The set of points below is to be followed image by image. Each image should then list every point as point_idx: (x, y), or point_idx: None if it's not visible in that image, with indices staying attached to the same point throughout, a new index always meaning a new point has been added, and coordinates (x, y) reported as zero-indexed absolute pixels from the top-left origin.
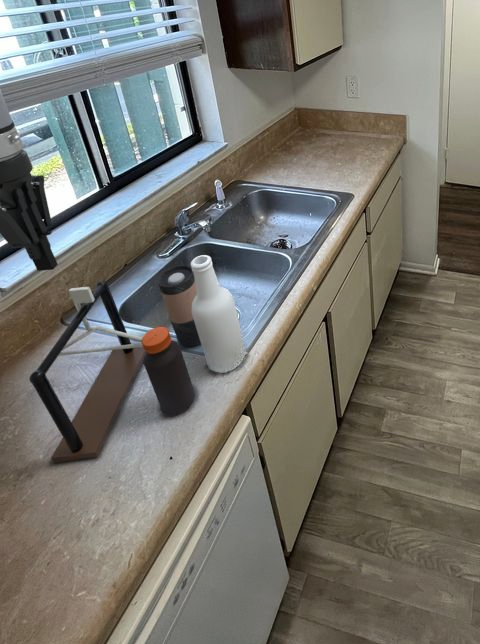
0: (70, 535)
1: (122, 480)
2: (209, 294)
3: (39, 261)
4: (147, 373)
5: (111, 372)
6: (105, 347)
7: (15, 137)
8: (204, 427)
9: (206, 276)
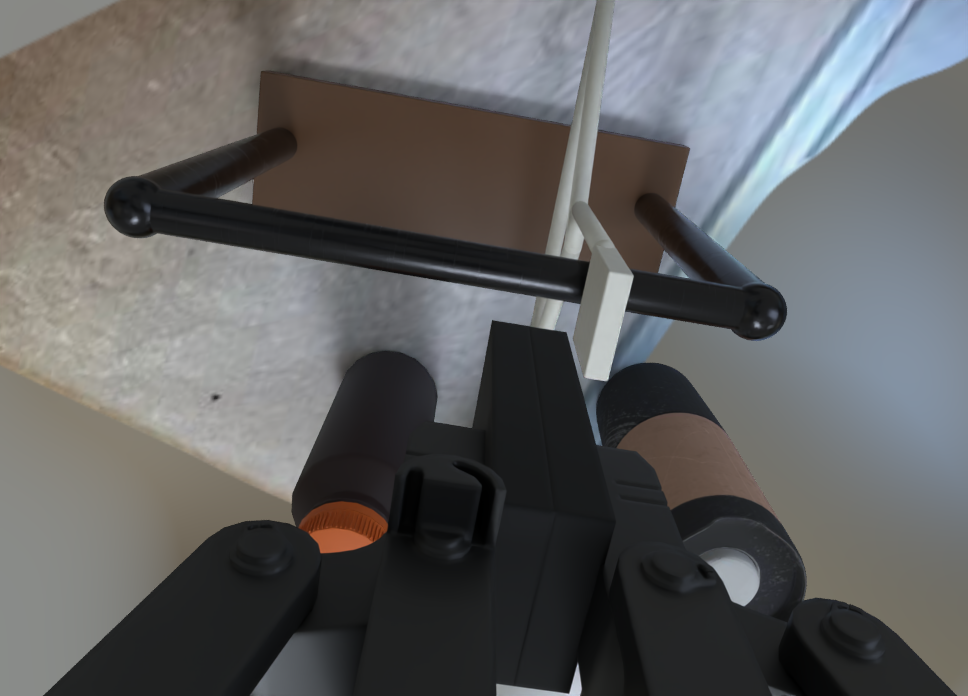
0: (55, 192)
1: (176, 286)
2: None
3: (482, 415)
4: (335, 432)
5: (560, 172)
6: (562, 219)
7: None
8: (286, 467)
9: None
